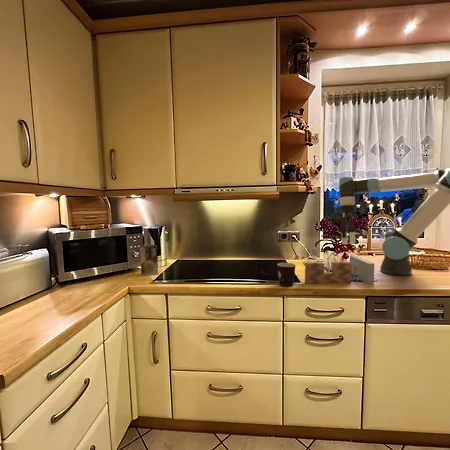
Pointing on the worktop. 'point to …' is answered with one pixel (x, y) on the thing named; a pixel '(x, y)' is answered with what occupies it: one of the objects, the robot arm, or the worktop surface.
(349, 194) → the robot arm
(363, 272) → the grey plain narrow board
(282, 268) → the coffee mug
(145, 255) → the coffee box
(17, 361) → the worktop surface
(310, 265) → the walnut slotted board
